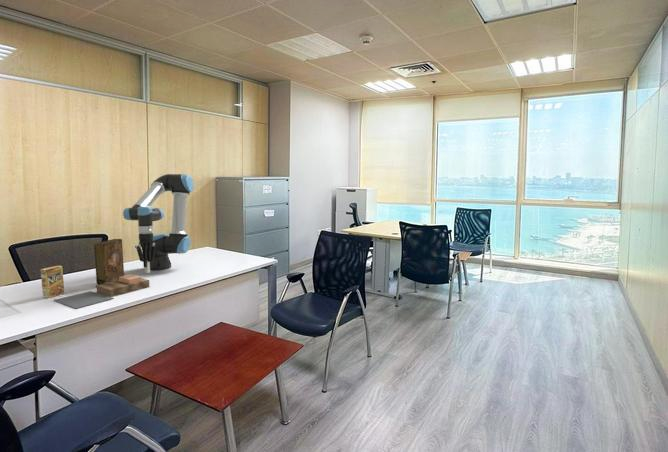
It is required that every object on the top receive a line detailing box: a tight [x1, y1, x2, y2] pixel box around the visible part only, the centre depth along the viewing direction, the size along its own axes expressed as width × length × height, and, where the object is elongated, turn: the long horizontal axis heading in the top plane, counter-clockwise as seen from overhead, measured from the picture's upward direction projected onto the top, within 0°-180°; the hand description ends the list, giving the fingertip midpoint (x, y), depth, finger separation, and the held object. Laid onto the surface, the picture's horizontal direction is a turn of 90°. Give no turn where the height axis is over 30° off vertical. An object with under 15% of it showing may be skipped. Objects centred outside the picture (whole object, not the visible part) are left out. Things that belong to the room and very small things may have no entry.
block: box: [119, 273, 142, 284], centre depth 221 cm, size 7×10×2 cm
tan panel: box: [95, 277, 151, 298], centre depth 218 cm, size 22×14×4 cm, turn 149°
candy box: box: [40, 265, 66, 299], centre depth 205 cm, size 9×4×15 cm, turn 159°
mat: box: [53, 290, 114, 310], centre depth 200 cm, size 18×22×1 cm
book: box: [93, 238, 125, 285], centre depth 229 cm, size 16×6×25 cm, turn 168°
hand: (147, 272), depth 229 cm, fingers closed
